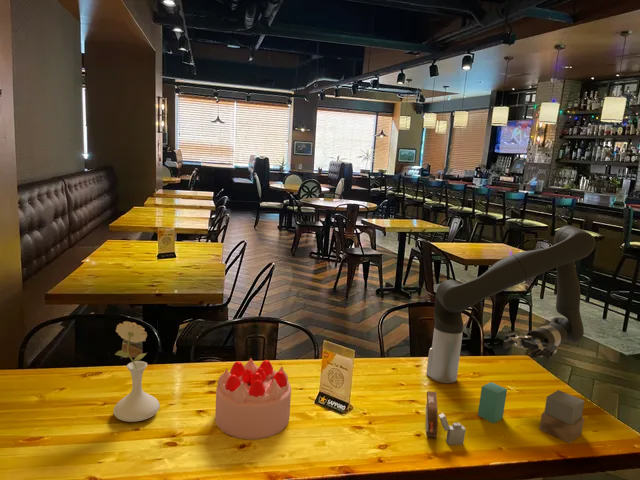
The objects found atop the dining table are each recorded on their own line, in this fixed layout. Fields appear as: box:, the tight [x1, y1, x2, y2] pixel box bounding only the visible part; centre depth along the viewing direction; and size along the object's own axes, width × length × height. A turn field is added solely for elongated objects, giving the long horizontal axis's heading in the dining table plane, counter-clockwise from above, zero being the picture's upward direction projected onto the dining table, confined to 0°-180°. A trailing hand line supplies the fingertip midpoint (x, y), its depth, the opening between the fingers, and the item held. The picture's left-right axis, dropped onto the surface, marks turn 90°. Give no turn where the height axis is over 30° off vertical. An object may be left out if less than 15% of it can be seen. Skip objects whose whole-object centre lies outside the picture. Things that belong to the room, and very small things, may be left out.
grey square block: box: [543, 389, 585, 425], centre depth 127 cm, size 7×7×5 cm
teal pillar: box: [477, 381, 508, 425], centre depth 133 cm, size 5×5×9 cm
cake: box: [214, 357, 292, 441], centre depth 123 cm, size 20×20×14 cm
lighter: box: [438, 412, 466, 446], centre depth 118 cm, size 7×2×8 cm, turn 98°
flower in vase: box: [113, 321, 161, 423], centre depth 120 cm, size 13×11×25 cm
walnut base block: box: [538, 411, 585, 445], centre depth 128 cm, size 8×8×5 cm
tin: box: [425, 390, 439, 438], centre depth 125 cm, size 15×3×8 cm, turn 168°
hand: (518, 349), depth 137 cm, fingers open, 8 cm apart
